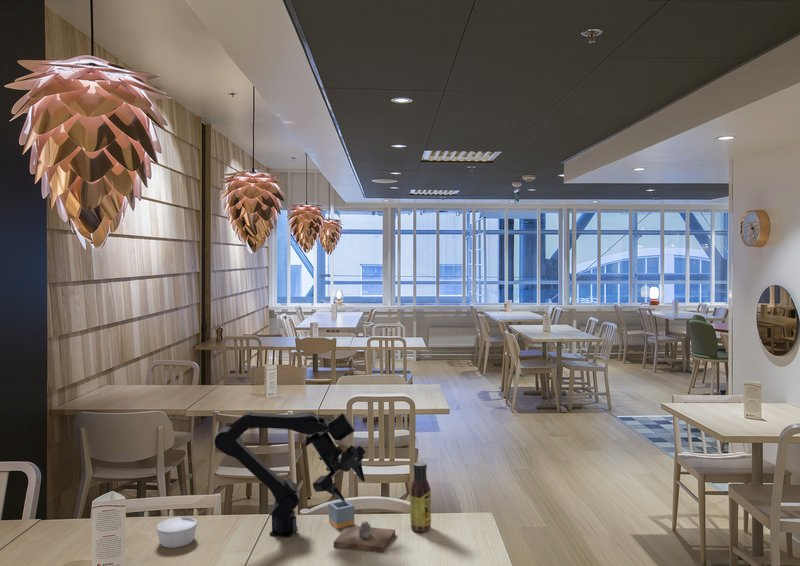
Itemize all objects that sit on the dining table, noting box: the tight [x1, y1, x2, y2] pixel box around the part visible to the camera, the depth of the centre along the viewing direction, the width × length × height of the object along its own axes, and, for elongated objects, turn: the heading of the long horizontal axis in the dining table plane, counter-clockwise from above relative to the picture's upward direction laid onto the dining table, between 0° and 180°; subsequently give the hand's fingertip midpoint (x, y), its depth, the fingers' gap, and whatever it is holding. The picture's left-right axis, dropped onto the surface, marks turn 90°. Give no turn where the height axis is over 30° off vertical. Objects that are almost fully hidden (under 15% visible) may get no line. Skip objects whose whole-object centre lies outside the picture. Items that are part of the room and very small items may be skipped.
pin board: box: [333, 521, 396, 553], centre depth 185 cm, size 15×12×5 cm
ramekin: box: [156, 516, 198, 549], centre depth 187 cm, size 11×11×5 cm
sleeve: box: [328, 499, 355, 530], centre depth 198 cm, size 6×6×6 cm
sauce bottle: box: [409, 461, 432, 533], centre depth 193 cm, size 6×6×20 cm
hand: (354, 491), depth 194 cm, fingers open, 9 cm apart
